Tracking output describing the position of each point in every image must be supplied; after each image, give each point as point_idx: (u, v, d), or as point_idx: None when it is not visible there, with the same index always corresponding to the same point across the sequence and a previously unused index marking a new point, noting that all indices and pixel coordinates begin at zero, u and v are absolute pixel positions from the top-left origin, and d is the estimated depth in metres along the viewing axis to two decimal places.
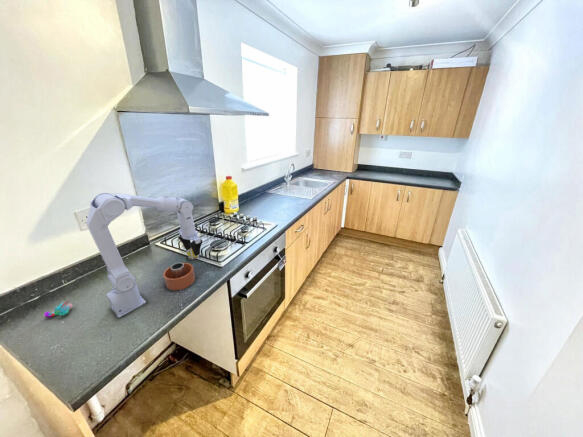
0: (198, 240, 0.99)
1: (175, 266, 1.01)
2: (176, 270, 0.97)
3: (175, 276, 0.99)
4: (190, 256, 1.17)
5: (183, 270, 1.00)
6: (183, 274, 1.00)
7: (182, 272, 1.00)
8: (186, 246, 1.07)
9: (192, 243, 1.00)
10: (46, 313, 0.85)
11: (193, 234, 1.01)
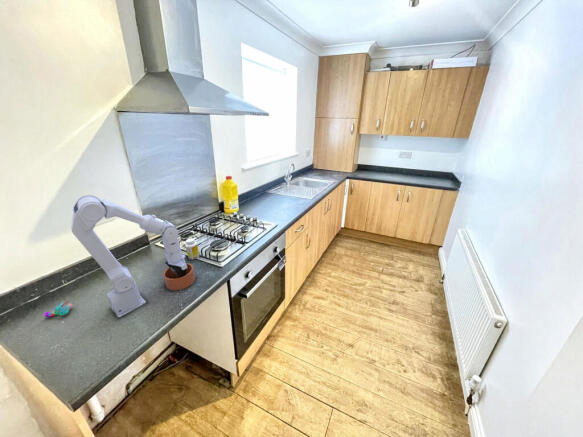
0: (184, 266, 0.94)
1: (175, 266, 1.01)
2: None
3: (175, 276, 0.99)
4: (190, 256, 1.17)
5: None
6: None
7: None
8: None
9: (177, 268, 0.95)
10: (46, 313, 0.85)
11: (179, 259, 0.97)
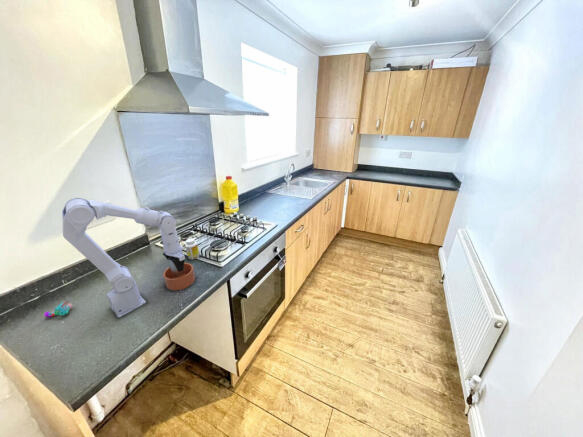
0: (182, 257, 0.92)
1: None
2: None
3: (173, 267, 0.97)
4: (190, 256, 1.17)
5: None
6: None
7: None
8: None
9: (174, 259, 0.93)
10: (46, 313, 0.85)
11: (177, 250, 0.95)
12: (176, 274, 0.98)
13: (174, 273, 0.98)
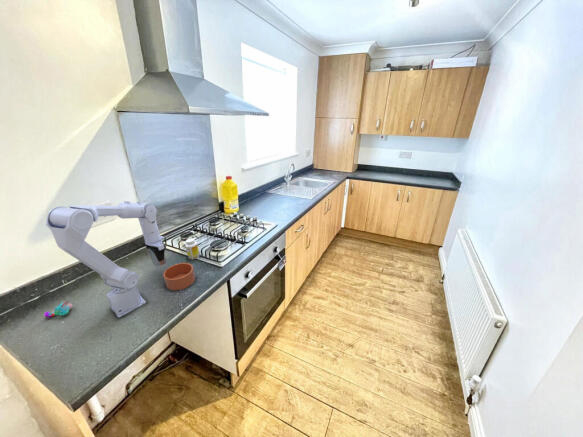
0: (161, 246, 0.94)
1: None
2: None
3: (153, 257, 0.99)
4: (190, 256, 1.17)
5: None
6: None
7: None
8: None
9: (154, 249, 0.95)
10: (46, 313, 0.85)
11: (157, 240, 0.97)
12: (157, 264, 1.00)
13: (155, 263, 1.00)
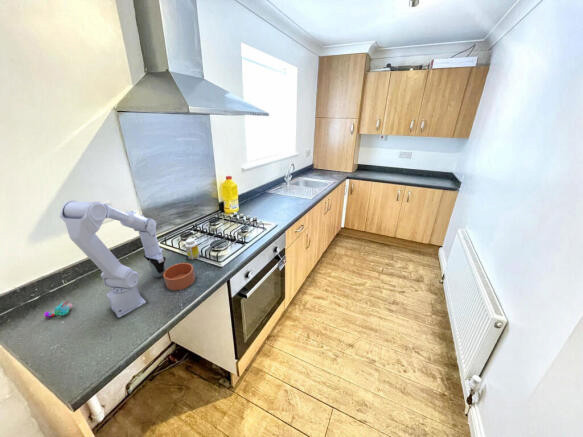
0: (161, 259, 0.98)
1: (153, 259, 1.05)
2: None
3: (153, 269, 1.02)
4: (190, 256, 1.17)
5: None
6: None
7: None
8: None
9: (154, 261, 0.99)
10: (46, 313, 0.85)
11: (157, 252, 1.00)
12: (156, 275, 1.03)
13: (155, 274, 1.03)
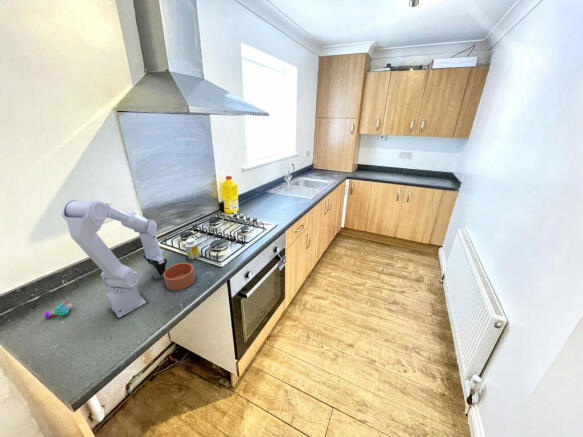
0: (161, 260, 0.98)
1: None
2: None
3: (154, 271, 1.03)
4: (190, 256, 1.17)
5: None
6: None
7: None
8: None
9: (155, 263, 0.98)
10: (46, 313, 0.85)
11: (157, 254, 1.00)
12: (157, 277, 1.04)
13: (155, 276, 1.04)
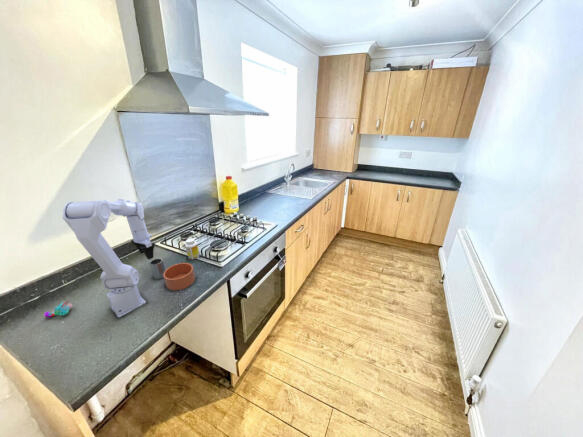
0: (149, 244, 0.98)
1: (154, 262, 1.05)
2: (154, 265, 1.01)
3: (154, 271, 1.03)
4: (190, 256, 1.17)
5: (162, 265, 1.04)
6: (162, 269, 1.04)
7: (161, 268, 1.04)
8: (140, 249, 1.06)
9: (143, 247, 0.98)
10: (46, 313, 0.85)
11: (145, 237, 1.00)
12: (157, 277, 1.04)
13: (155, 276, 1.04)
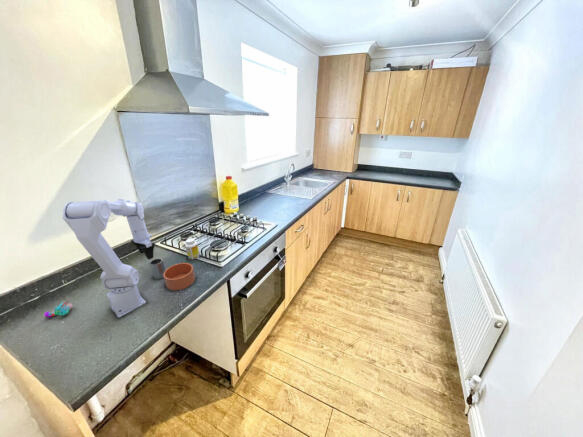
0: (149, 244, 0.98)
1: (154, 262, 1.05)
2: (154, 265, 1.01)
3: (154, 271, 1.03)
4: (190, 256, 1.17)
5: (162, 265, 1.04)
6: (162, 269, 1.04)
7: (161, 268, 1.04)
8: (140, 249, 1.06)
9: (143, 247, 0.98)
10: (46, 313, 0.85)
11: (145, 237, 1.00)
12: (157, 277, 1.04)
13: (155, 276, 1.04)
